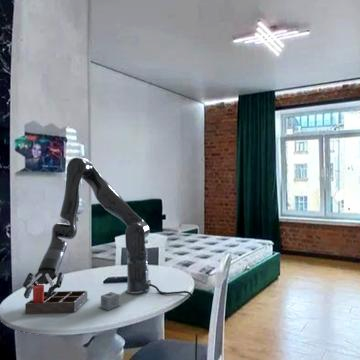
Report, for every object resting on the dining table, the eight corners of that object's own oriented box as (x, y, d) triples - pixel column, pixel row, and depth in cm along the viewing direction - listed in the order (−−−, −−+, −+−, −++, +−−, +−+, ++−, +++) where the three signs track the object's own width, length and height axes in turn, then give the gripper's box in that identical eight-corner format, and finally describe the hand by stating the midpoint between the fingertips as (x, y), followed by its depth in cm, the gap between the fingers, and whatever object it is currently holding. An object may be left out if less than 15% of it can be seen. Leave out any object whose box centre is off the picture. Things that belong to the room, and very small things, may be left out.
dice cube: (111, 303, 134) (111, 291, 134) (118, 305, 131) (118, 294, 131) (100, 307, 130) (100, 295, 130) (108, 310, 127) (108, 298, 127)
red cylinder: (45, 305, 129) (45, 284, 129) (40, 309, 125) (40, 287, 125) (36, 306, 129) (36, 284, 129) (30, 310, 125) (30, 288, 125)
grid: (87, 299, 138) (87, 290, 138) (74, 312, 125) (74, 302, 125) (43, 300, 136) (43, 291, 136) (25, 313, 124) (25, 303, 124)
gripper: (31, 257, 134) (14, 294, 123) (65, 257, 135) (51, 293, 124) (38, 266, 139) (22, 301, 128) (71, 265, 140) (58, 300, 129)
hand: (37, 297), depth 126 cm, fingers open, 8 cm apart
